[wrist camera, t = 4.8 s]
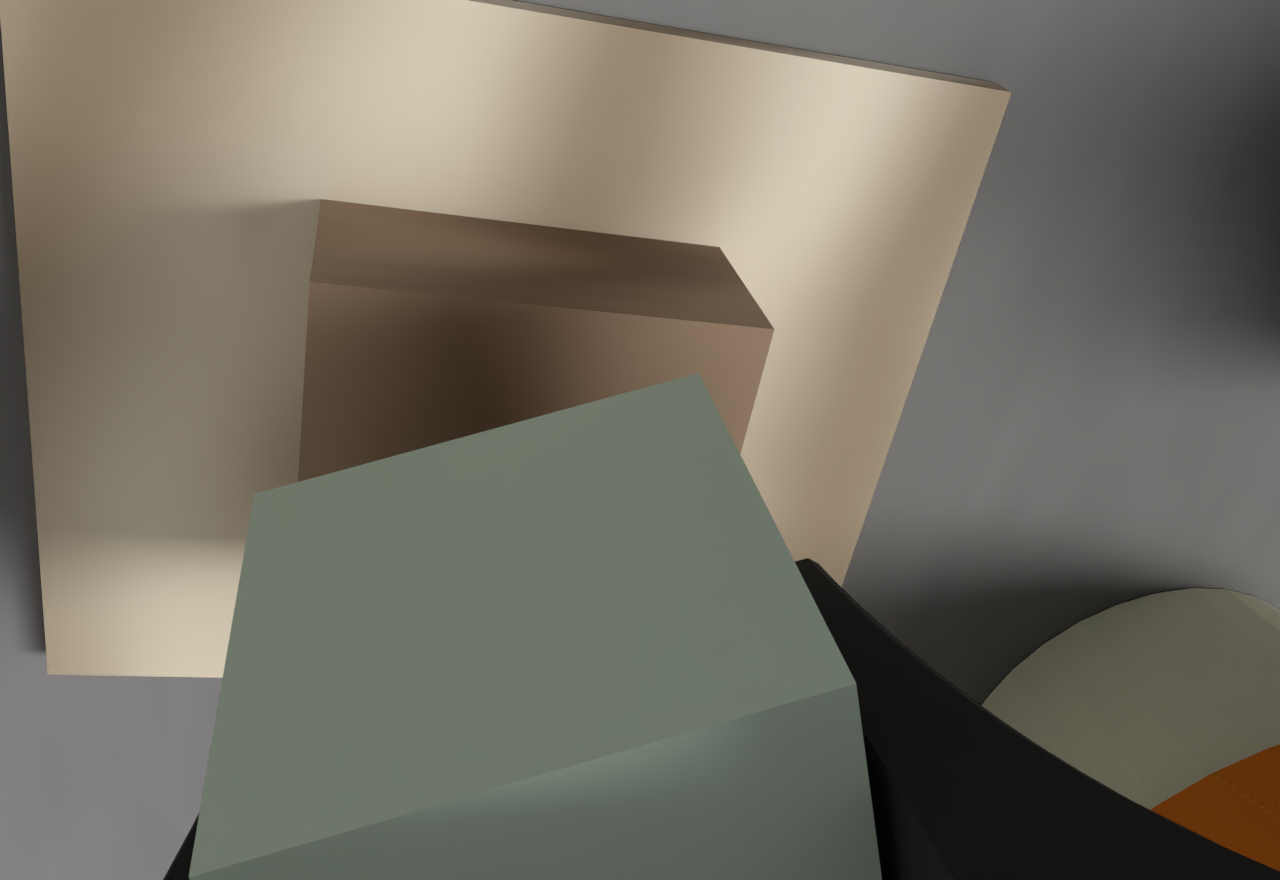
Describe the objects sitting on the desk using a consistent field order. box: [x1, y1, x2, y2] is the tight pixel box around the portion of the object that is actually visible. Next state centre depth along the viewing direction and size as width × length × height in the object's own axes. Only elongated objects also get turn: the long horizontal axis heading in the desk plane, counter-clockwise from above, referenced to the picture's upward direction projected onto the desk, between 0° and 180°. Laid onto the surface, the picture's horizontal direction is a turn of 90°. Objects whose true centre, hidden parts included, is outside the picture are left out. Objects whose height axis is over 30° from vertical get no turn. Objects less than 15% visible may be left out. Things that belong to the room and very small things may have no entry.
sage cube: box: [188, 373, 882, 880], centre depth 12 cm, size 5×5×5 cm
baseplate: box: [0, 0, 1012, 678], centre depth 18 cm, size 14×12×4 cm
